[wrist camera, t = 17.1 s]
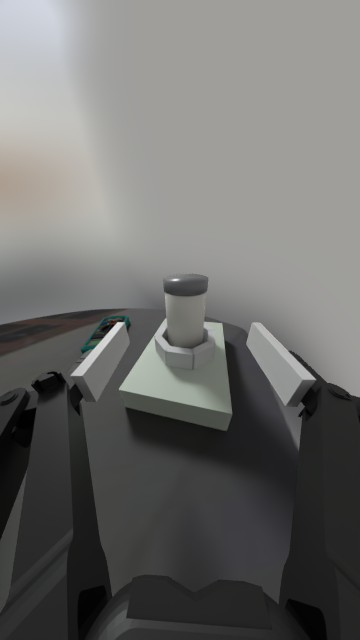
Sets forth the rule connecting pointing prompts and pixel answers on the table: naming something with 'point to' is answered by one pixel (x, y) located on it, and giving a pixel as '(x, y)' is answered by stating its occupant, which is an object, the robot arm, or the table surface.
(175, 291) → the white grey-capped cylinder
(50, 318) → the table surface
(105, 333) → the digital multimeter
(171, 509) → the table surface
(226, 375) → the octagonal ring base plate
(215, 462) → the table surface
